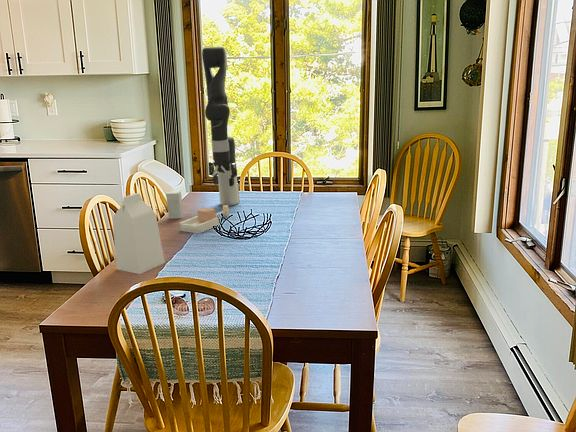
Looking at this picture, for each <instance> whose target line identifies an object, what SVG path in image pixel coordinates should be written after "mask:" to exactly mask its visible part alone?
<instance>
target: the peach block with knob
mask: <svg viewBox="0 0 576 432" xmlns="http://www.w3.org/2000/svg"><path fill="white" fill-rule="evenodd" d="M229 211H230V210H229V205H222V211H219V212H217V213H216V208H210V207H203V208H200V209H197V212H196V213H197V216H198V222H206V221H209V220H211V219H214V218H216V217H217V216H218V215H221V214H222V215H223V217H228V216H230V213H229Z"/></svg>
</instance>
